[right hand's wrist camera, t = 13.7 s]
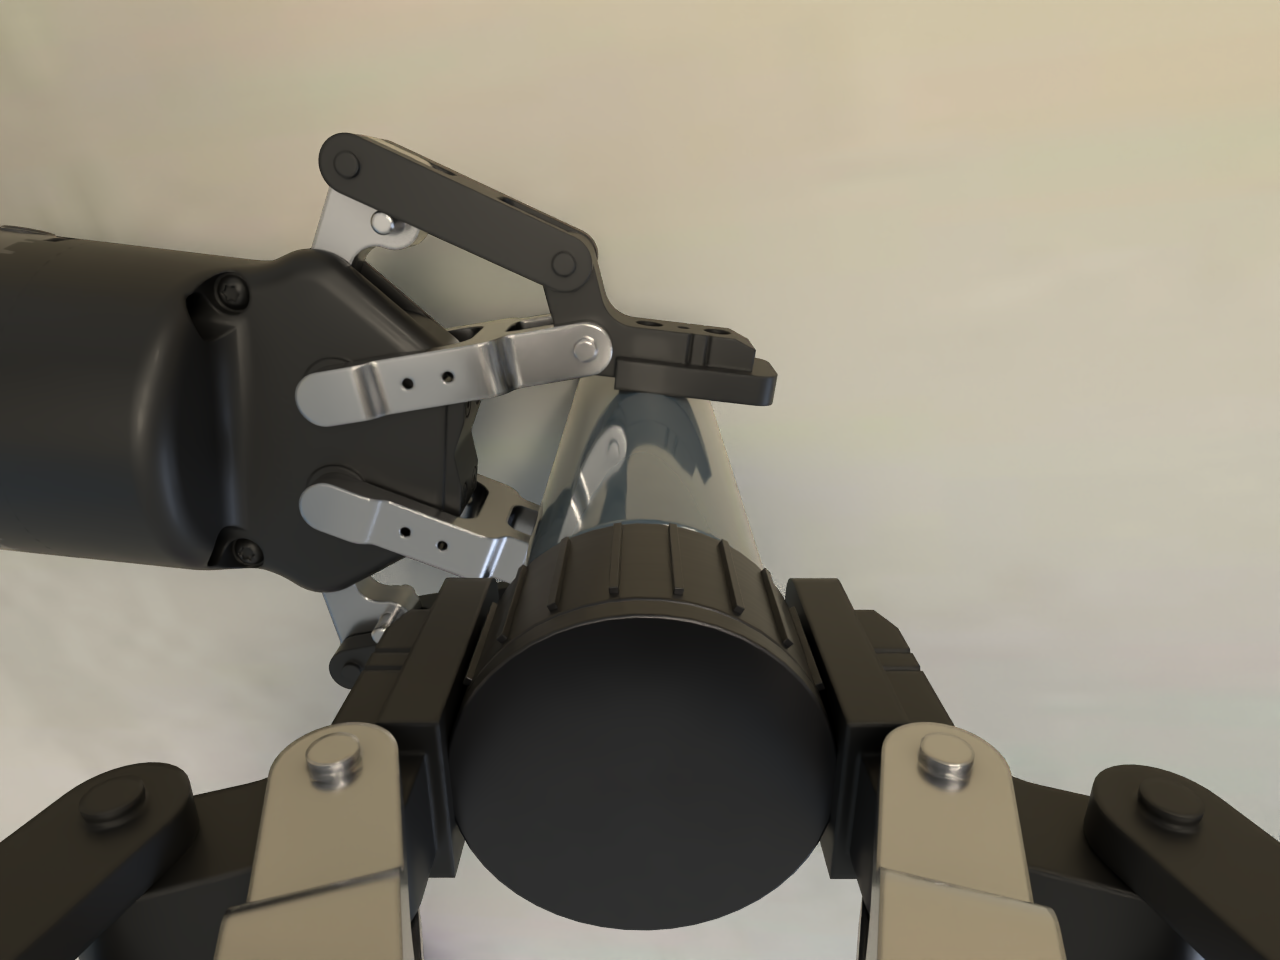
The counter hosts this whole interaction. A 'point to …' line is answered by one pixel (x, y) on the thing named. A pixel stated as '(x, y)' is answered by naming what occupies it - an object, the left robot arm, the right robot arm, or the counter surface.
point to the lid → (642, 732)
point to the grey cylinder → (640, 470)
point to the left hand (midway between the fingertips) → (750, 474)
